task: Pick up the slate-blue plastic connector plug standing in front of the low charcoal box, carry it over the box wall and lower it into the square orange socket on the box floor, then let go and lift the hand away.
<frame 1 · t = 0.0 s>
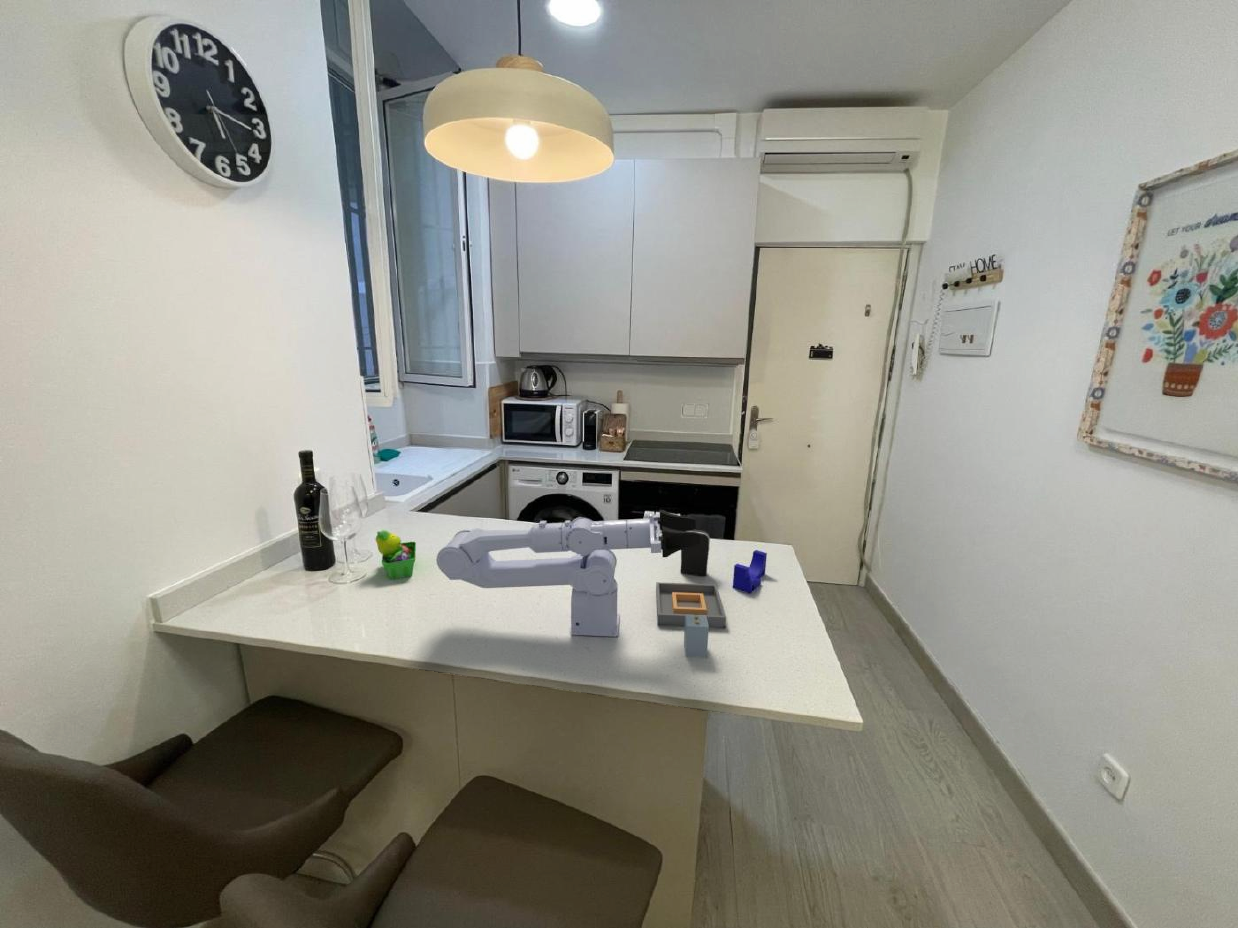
hand: (697, 530, 96), 22 cm above the counter, tool horizontal, fingers open, 7 cm apart
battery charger: (694, 572, 127), on the counter
cable clip: (752, 583, 122), on the counter
connector plug: (694, 650, 95), on the counter
fruit basket: (398, 571, 125), on the counter
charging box: (688, 608, 109), on the counter
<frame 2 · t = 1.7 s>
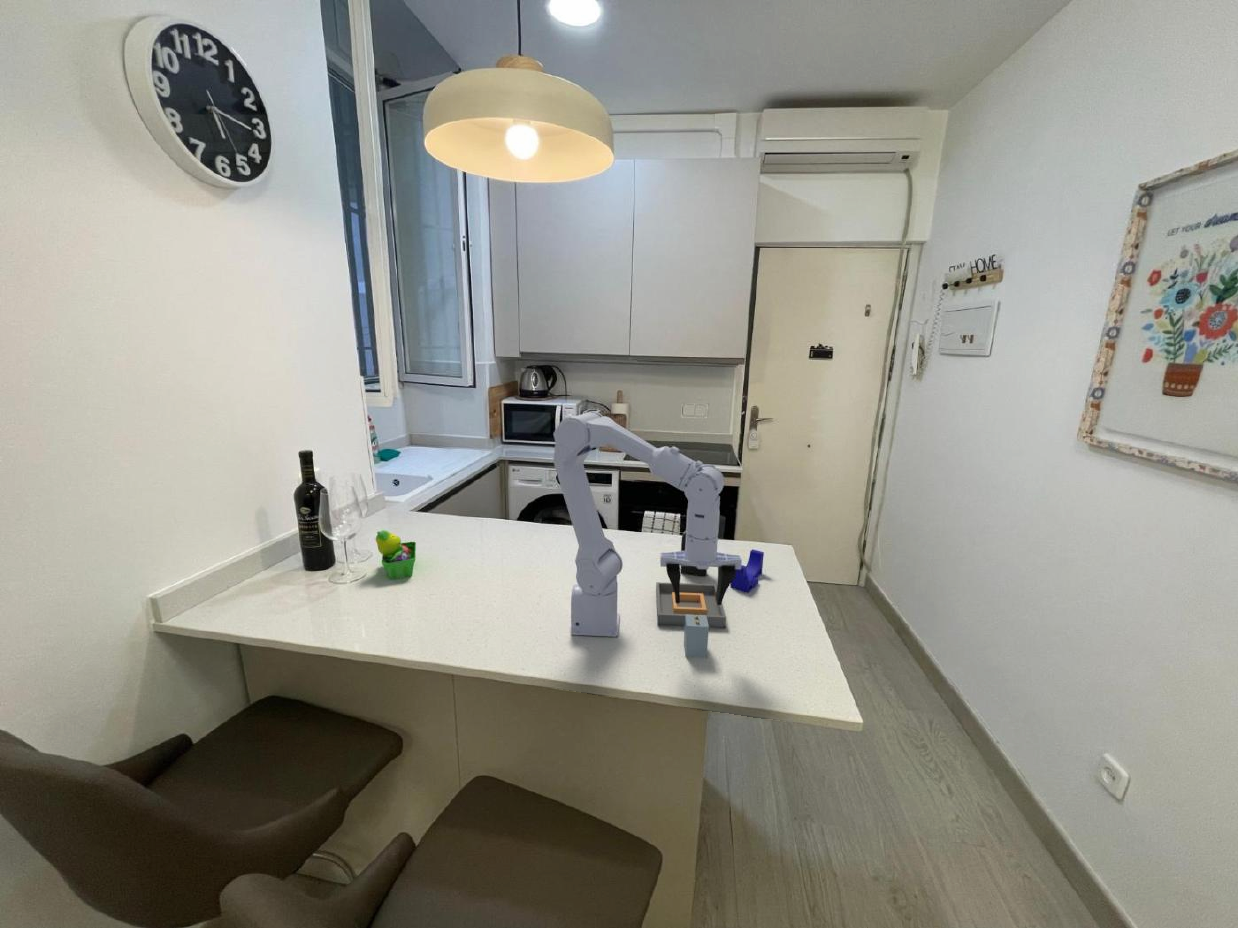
hand: (697, 601, 92), 10 cm above the counter, tool pointing down, fingers open, 7 cm apart
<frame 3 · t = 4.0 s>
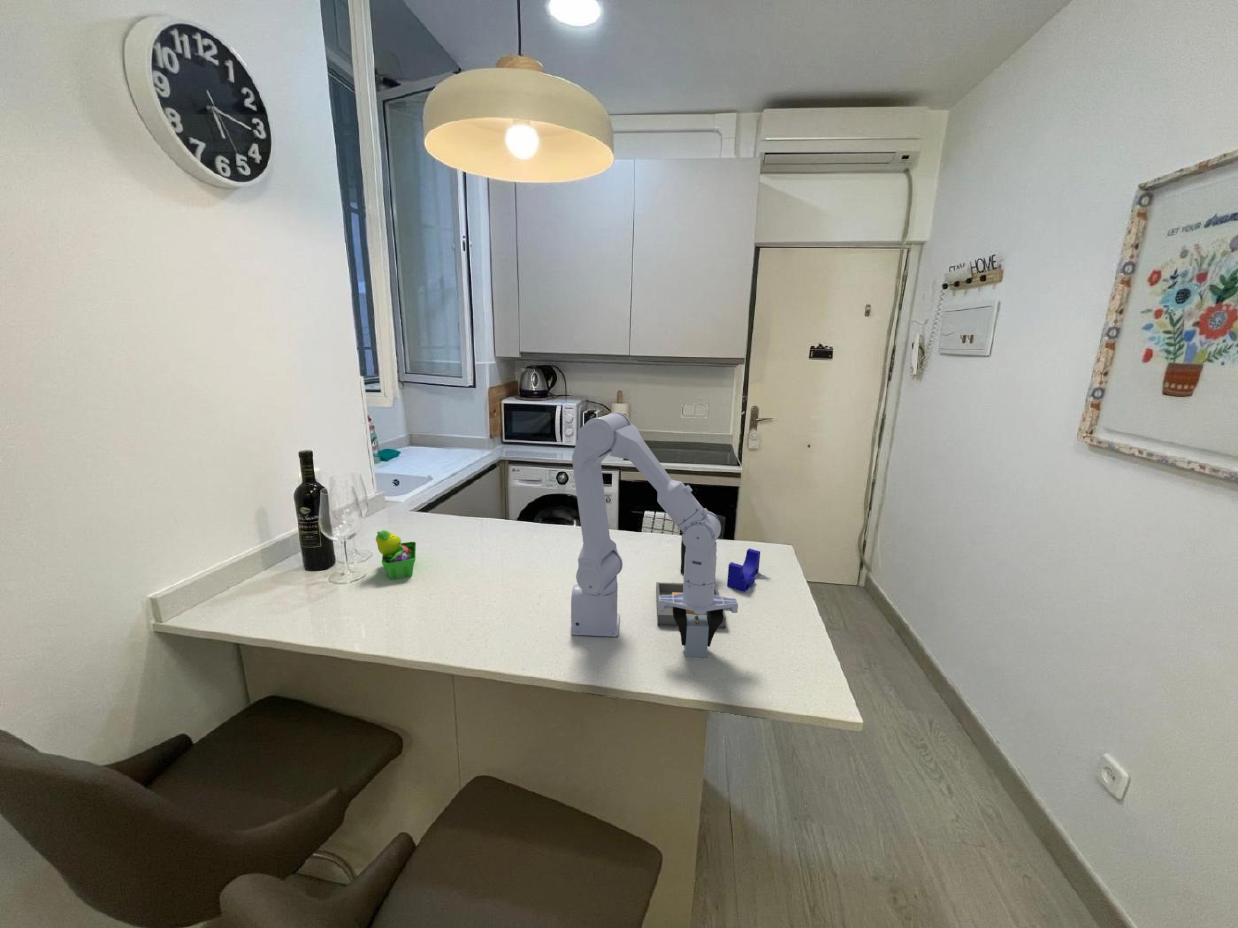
hand: (695, 642, 94), 2 cm above the counter, tool pointing down, fingers closed on connector plug, 4 cm apart
connector plug: (694, 650, 95), on the counter, touching gripper
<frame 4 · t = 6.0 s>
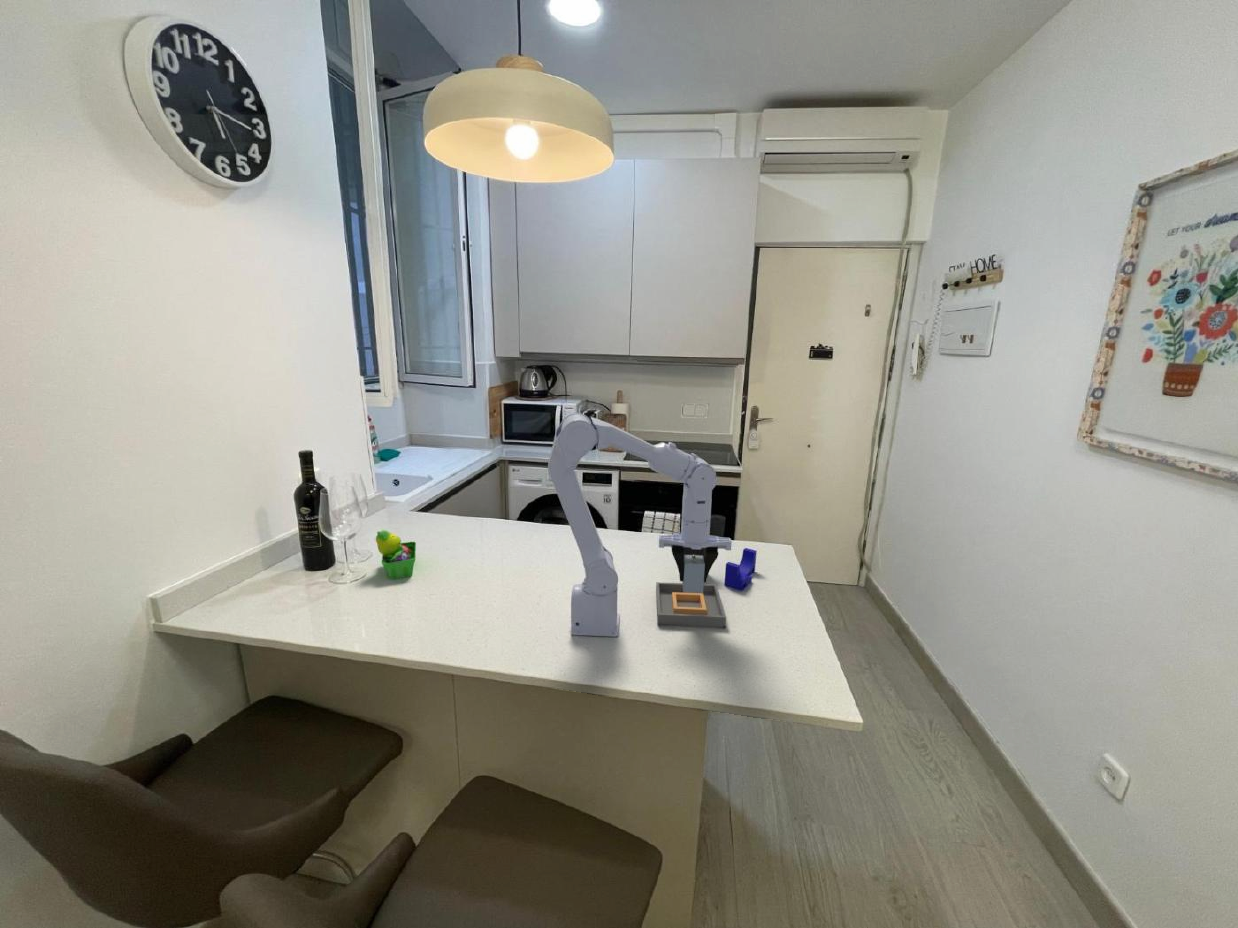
hand: (692, 579, 103), 9 cm above the counter, tool pointing down, fingers closed on connector plug, 4 cm apart
connector plug: (692, 588, 103), point 8 cm above the counter, touching gripper
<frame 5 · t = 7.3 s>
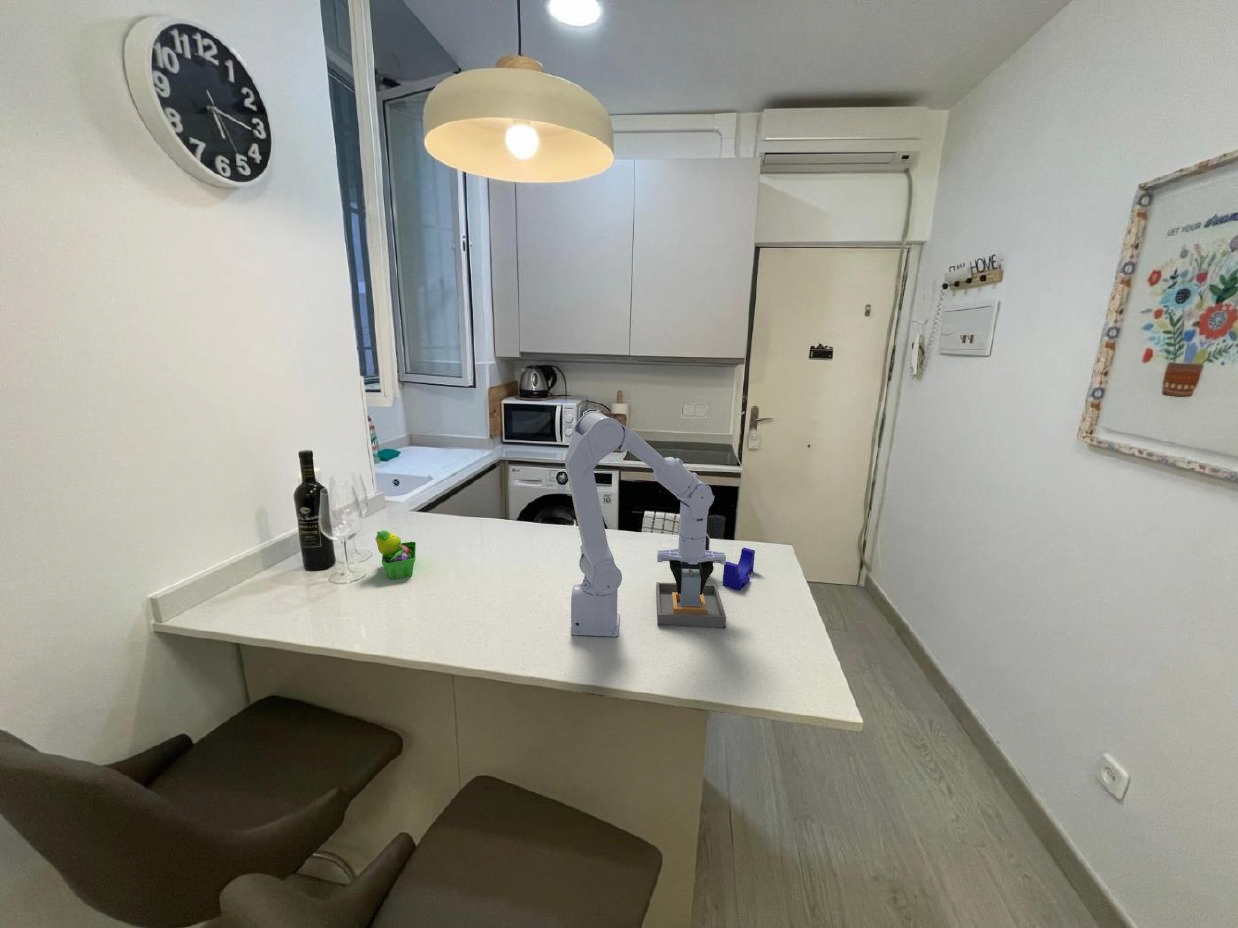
hand: (689, 592, 108), 4 cm above the counter, tool pointing down, fingers closed on connector plug, 4 cm apart
connector plug: (689, 600, 108), point 2 cm above the counter, touching gripper
when the fingers open (3 cm above the counter, at t = 8.3 s): connector plug drops 1 cm, resting on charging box.
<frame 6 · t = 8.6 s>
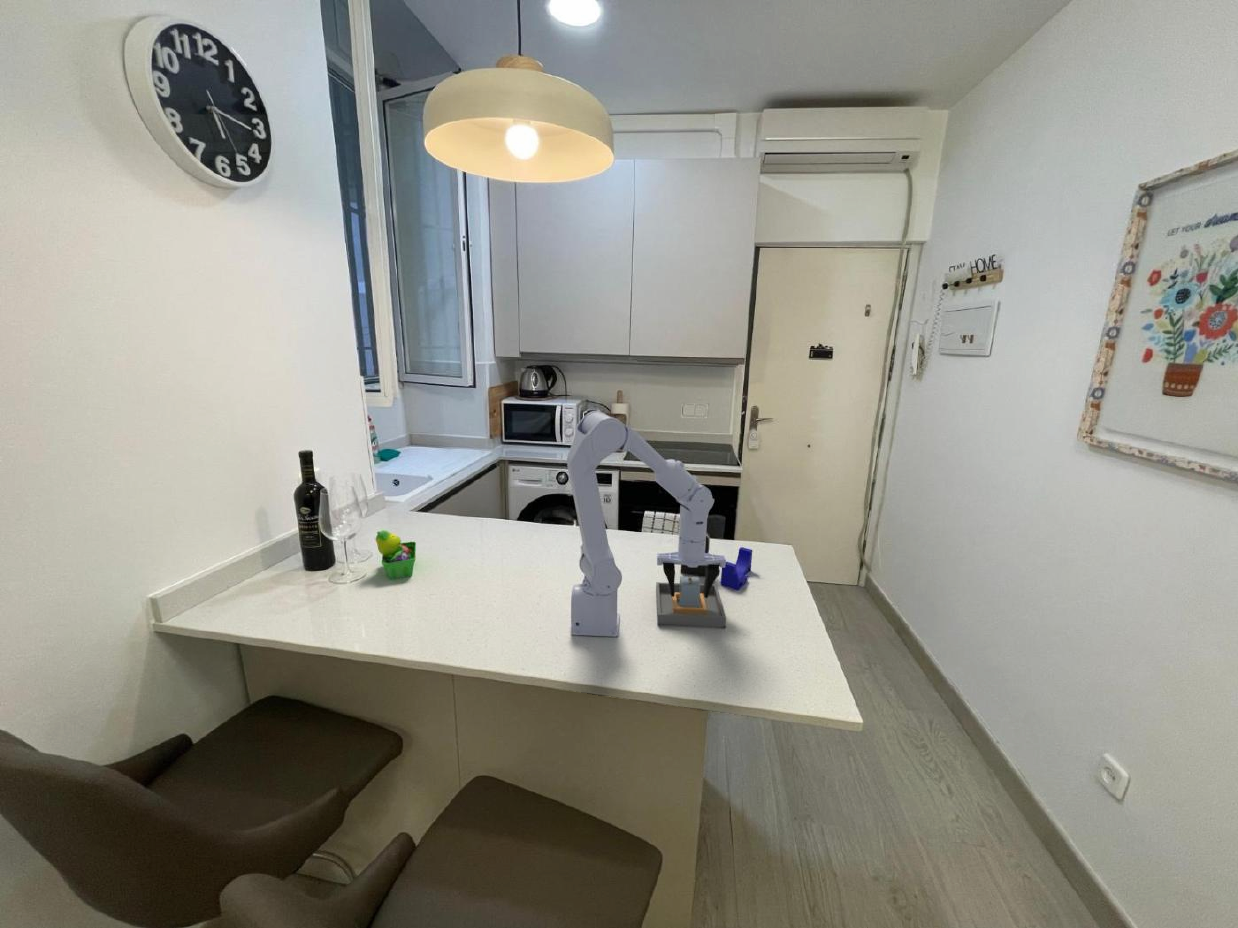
hand: (689, 594, 108), 3 cm above the counter, tool pointing down, fingers open, 7 cm apart
connector plug: (688, 607, 109), resting on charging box
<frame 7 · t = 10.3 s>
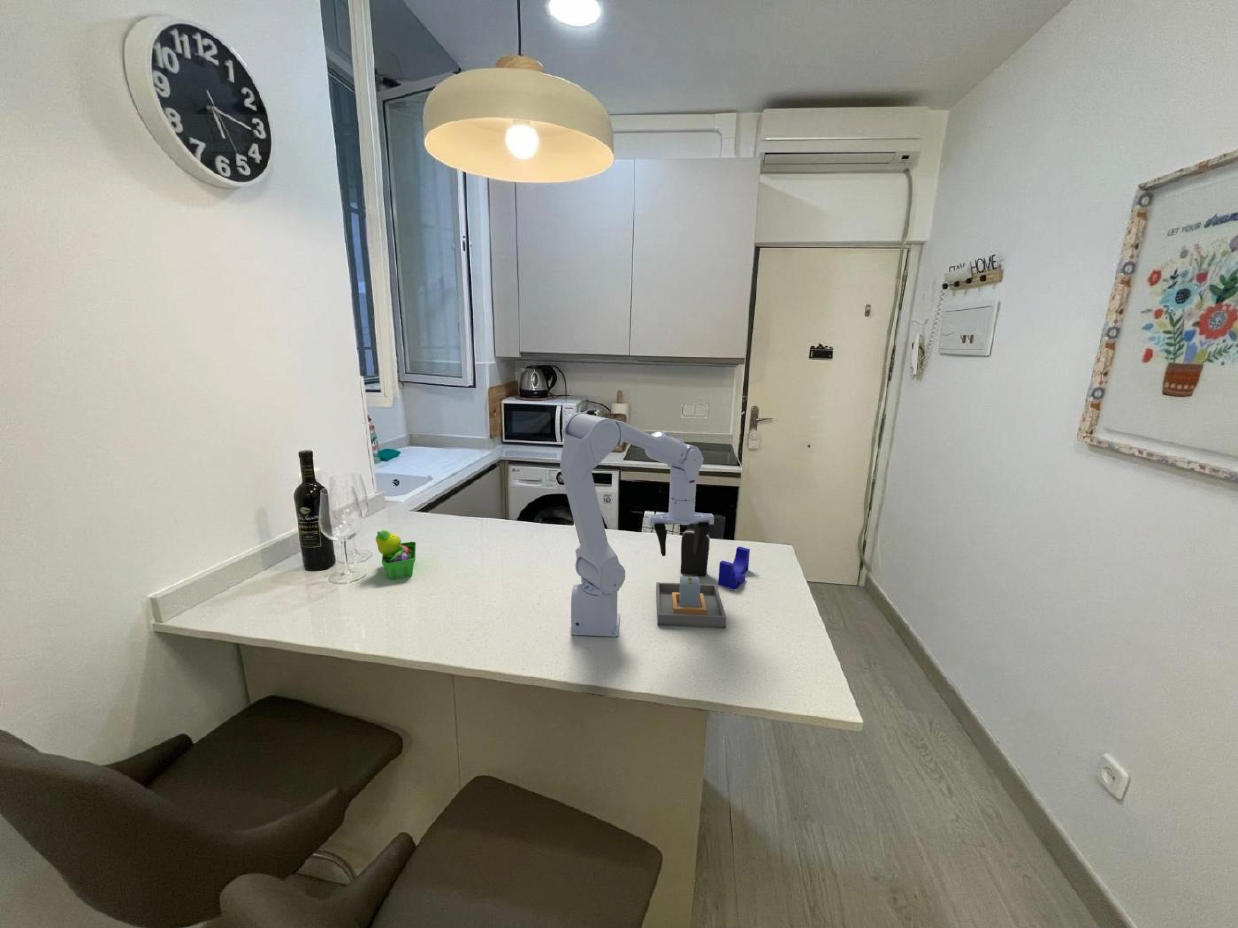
hand: (679, 553, 113), 10 cm above the counter, tool pointing down, fingers open, 7 cm apart
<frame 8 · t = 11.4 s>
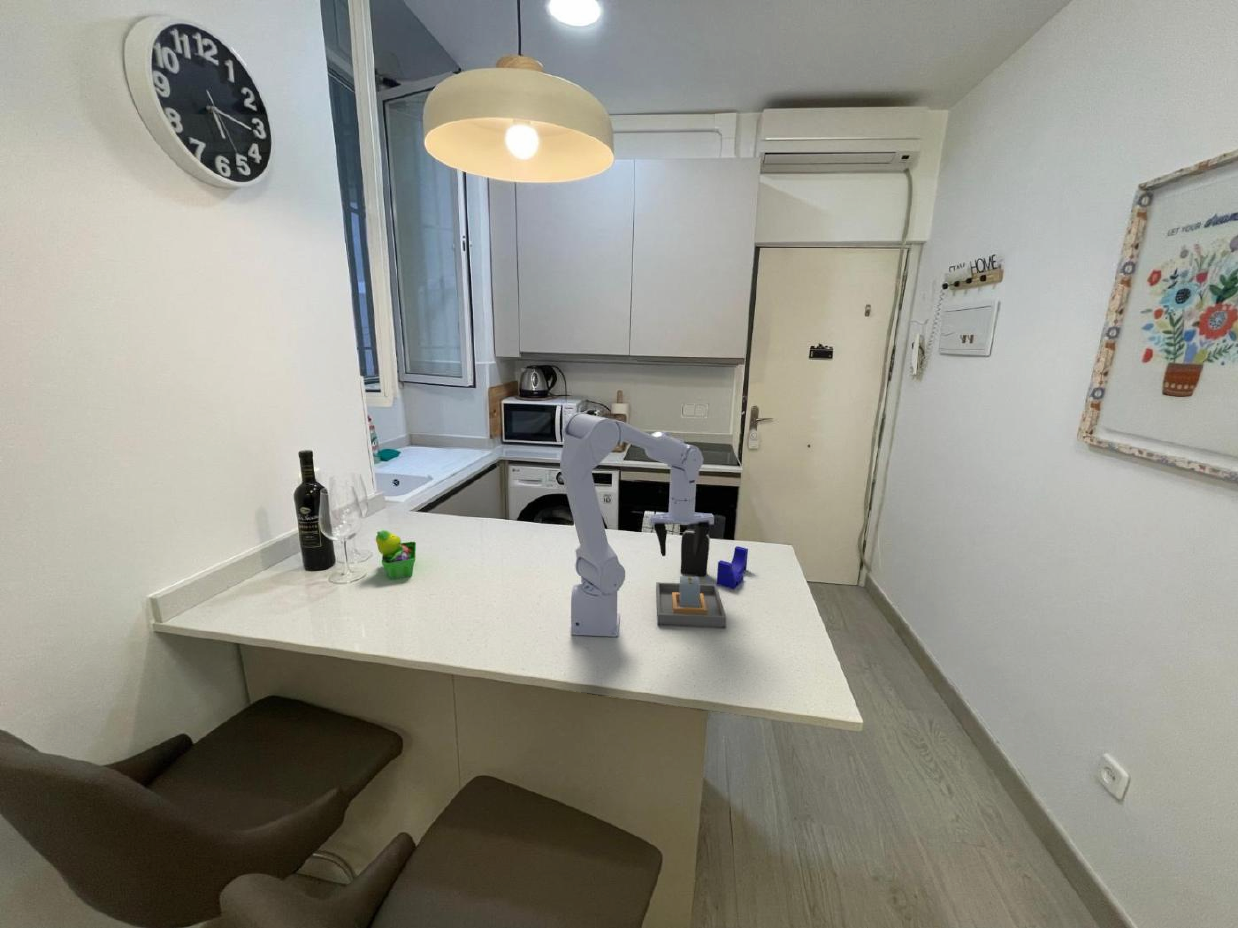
hand: (679, 553, 113), 10 cm above the counter, tool pointing down, fingers open, 7 cm apart
at the end: connector plug 0.4 cm off-centre on the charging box, point 0.5 cm above the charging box's base; connector plug tilted 0°; the gripper is holding nothing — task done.
